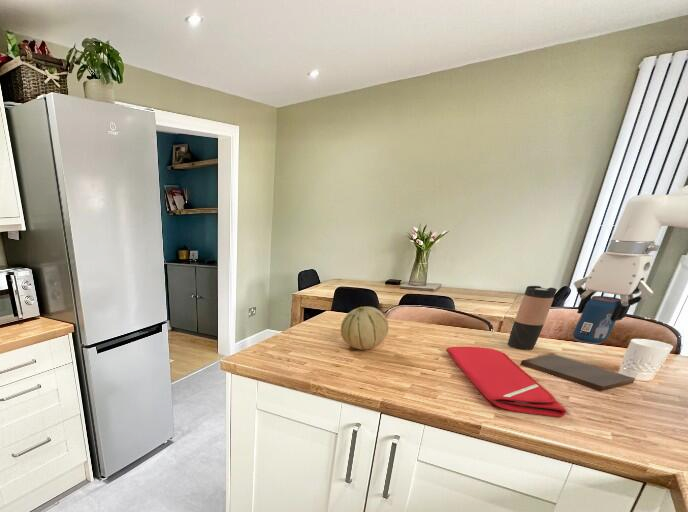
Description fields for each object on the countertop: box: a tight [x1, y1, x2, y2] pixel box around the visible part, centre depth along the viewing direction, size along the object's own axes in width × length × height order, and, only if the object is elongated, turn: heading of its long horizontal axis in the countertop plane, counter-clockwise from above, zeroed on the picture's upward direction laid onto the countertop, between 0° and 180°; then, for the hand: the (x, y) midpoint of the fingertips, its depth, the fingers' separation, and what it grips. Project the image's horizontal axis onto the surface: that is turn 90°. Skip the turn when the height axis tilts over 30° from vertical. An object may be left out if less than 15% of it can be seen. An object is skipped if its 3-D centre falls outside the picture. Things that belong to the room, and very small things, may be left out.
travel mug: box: [507, 285, 558, 351], centre depth 132 cm, size 8×8×20 cm
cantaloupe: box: [340, 306, 390, 351], centre depth 135 cm, size 15×15×15 cm
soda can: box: [572, 295, 621, 345], centre depth 109 cm, size 7×7×12 cm
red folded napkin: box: [445, 346, 567, 418], centre depth 112 cm, size 16×41×4 cm, turn 161°
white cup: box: [617, 338, 674, 382], centre depth 111 cm, size 8×8×10 cm
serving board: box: [520, 353, 636, 392], centre depth 115 cm, size 20×14×2 cm
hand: (598, 315), depth 108 cm, fingers closed on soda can, 7 cm apart
